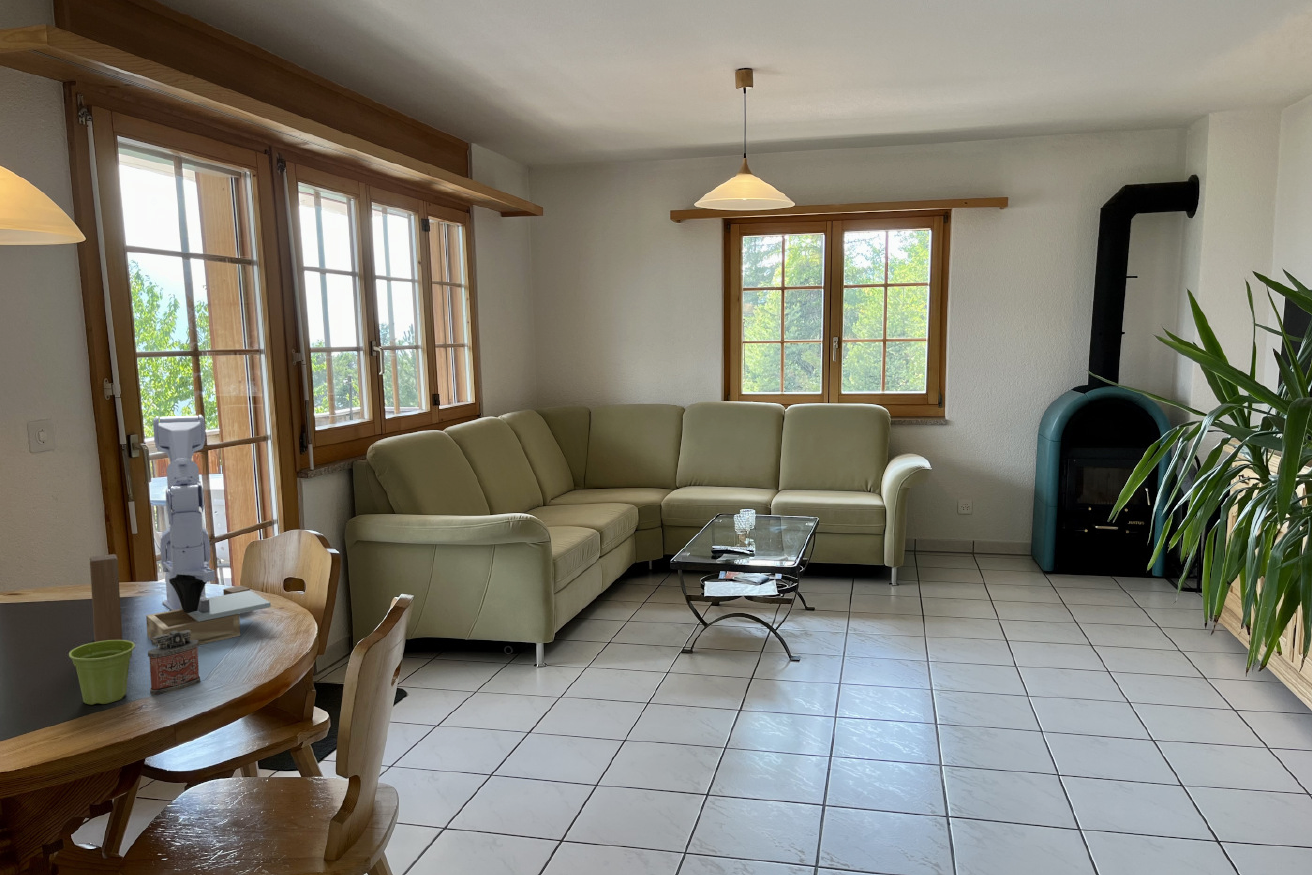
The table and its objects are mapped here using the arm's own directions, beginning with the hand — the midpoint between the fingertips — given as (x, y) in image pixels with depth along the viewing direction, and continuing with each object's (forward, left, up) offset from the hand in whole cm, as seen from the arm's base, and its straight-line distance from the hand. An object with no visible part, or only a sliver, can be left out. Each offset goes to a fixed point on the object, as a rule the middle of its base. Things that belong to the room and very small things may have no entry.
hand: (190, 611), depth 174 cm
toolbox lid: (-3, +8, -1) cm, 8 cm away
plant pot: (+20, -19, -6) cm, 28 cm away
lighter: (+23, -9, -6) cm, 26 cm away
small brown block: (-15, +14, -6) cm, 21 cm away
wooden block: (-10, -12, -6) cm, 17 cm away
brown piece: (-3, +1, -6) cm, 7 cm away
